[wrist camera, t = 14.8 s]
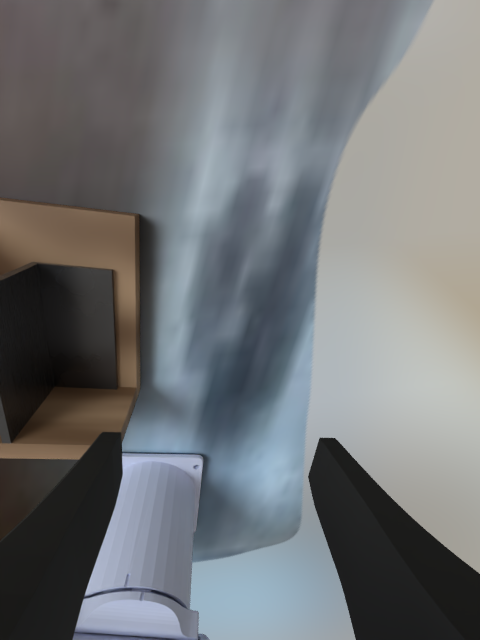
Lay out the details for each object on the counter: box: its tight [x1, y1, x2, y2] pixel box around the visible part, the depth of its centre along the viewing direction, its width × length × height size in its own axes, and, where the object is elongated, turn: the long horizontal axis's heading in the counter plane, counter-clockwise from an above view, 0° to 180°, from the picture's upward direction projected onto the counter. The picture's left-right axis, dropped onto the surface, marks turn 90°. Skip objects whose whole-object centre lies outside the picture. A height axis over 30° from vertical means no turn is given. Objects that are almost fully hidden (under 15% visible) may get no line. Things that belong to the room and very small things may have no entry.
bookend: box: [0, 262, 118, 444], centre depth 16 cm, size 8×4×5 cm, turn 173°
